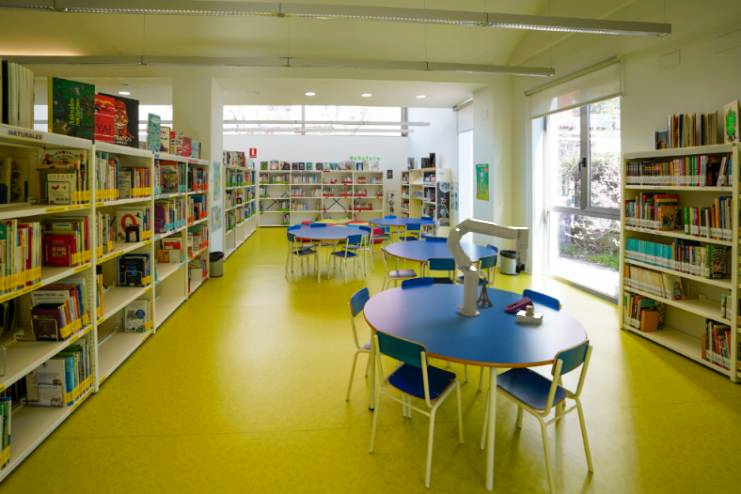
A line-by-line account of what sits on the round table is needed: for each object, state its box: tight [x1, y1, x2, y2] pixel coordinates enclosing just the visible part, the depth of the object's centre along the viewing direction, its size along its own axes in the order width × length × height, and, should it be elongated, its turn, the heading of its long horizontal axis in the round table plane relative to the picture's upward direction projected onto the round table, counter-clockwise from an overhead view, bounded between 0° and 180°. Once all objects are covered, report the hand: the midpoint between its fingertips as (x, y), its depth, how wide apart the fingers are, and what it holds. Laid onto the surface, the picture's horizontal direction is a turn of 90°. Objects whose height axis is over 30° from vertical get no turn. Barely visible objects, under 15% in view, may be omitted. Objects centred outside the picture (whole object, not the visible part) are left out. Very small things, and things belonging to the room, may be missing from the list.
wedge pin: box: [526, 306, 535, 316], centre depth 286 cm, size 4×4×10 cm
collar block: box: [515, 310, 544, 326], centre depth 286 cm, size 14×10×5 cm
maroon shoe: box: [504, 296, 535, 313], centre depth 308 cm, size 9×8×18 cm
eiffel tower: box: [477, 276, 495, 309], centre depth 321 cm, size 11×11×25 cm
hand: (519, 271), depth 294 cm, fingers open, 9 cm apart
